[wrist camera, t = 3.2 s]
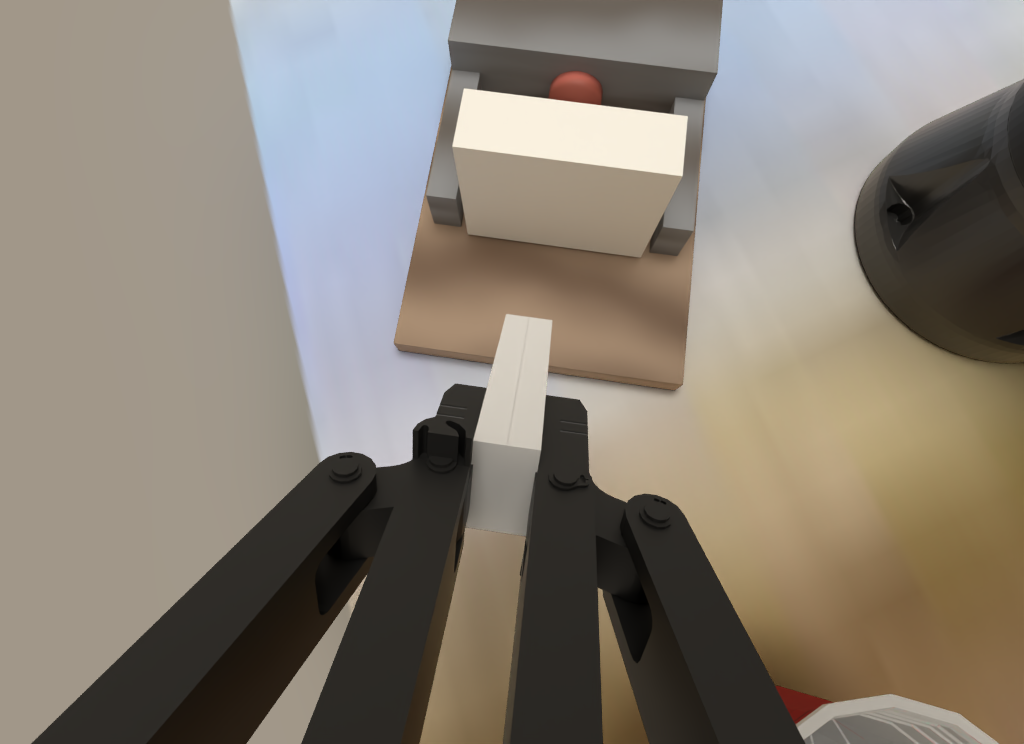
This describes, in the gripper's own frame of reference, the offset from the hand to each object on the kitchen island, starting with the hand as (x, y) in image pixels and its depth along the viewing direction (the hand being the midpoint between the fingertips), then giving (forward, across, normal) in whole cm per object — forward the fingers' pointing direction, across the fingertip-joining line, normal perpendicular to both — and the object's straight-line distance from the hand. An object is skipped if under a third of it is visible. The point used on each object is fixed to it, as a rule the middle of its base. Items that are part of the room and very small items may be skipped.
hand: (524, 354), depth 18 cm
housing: (+19, +1, 0) cm, 19 cm away
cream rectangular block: (+16, +1, 0) cm, 16 cm away
